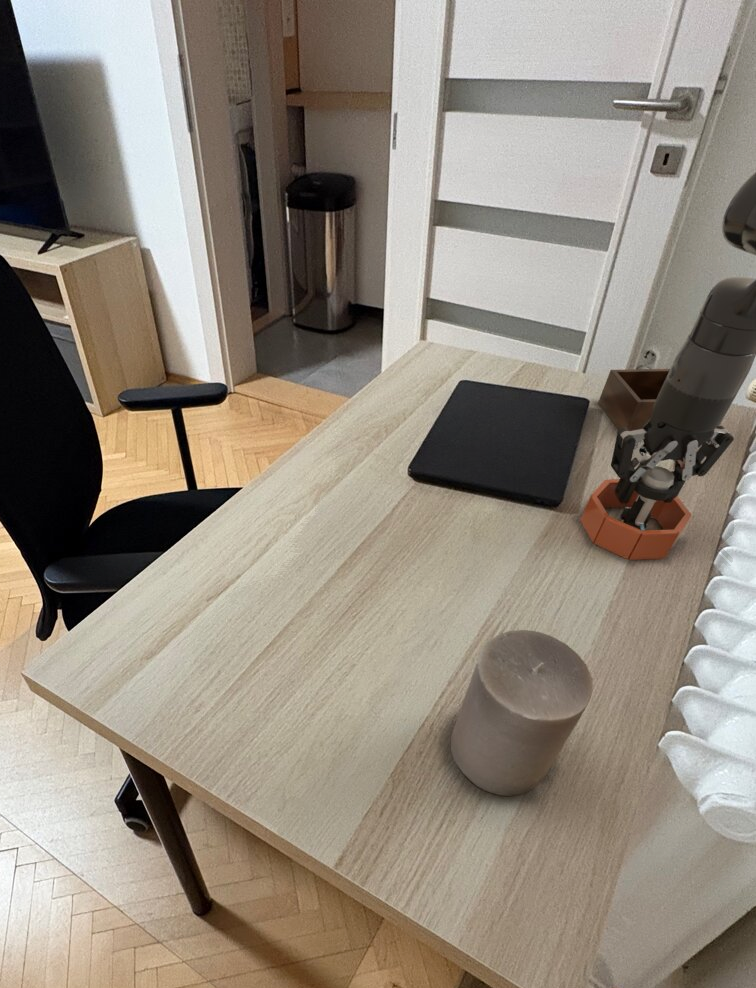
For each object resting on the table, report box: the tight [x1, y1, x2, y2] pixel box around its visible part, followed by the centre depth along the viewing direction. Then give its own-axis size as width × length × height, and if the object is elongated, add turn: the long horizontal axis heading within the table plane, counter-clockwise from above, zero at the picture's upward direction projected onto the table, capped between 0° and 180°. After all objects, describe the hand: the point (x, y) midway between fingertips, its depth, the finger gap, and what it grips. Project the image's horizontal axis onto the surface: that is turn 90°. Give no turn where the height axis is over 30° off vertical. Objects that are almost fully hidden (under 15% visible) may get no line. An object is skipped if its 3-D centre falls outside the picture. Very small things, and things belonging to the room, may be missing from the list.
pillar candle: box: [450, 629, 594, 797], centre depth 57 cm, size 10×10×15 cm
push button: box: [620, 465, 678, 531], centre depth 83 cm, size 7×5×10 cm
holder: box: [597, 368, 671, 431], centre depth 105 cm, size 11×11×6 cm
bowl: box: [580, 478, 693, 561], centre depth 85 cm, size 12×12×4 cm
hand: (643, 499), depth 83 cm, fingers closed on push button, 5 cm apart
